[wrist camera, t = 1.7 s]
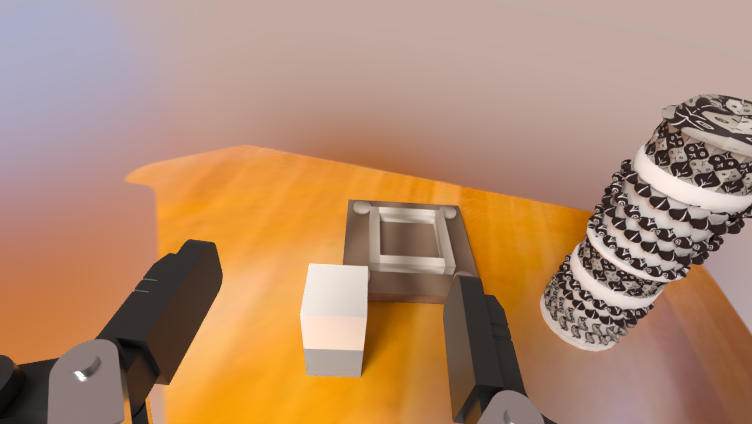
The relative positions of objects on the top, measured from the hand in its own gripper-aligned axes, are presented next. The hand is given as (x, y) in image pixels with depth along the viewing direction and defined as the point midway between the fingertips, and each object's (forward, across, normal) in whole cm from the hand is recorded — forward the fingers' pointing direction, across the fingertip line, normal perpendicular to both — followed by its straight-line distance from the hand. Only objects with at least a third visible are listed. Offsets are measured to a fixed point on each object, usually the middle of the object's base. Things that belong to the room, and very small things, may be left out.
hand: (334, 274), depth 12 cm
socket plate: (+25, -6, +23) cm, 34 cm away
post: (+11, +1, +23) cm, 26 cm away
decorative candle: (+18, -26, +23) cm, 39 cm away
